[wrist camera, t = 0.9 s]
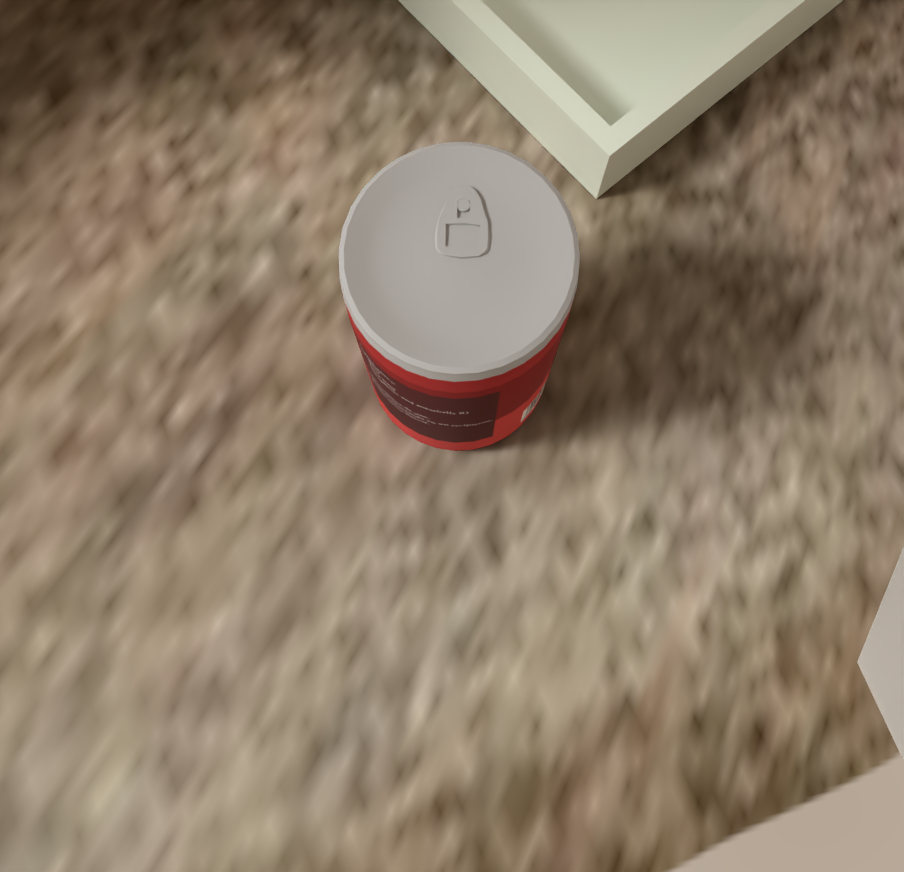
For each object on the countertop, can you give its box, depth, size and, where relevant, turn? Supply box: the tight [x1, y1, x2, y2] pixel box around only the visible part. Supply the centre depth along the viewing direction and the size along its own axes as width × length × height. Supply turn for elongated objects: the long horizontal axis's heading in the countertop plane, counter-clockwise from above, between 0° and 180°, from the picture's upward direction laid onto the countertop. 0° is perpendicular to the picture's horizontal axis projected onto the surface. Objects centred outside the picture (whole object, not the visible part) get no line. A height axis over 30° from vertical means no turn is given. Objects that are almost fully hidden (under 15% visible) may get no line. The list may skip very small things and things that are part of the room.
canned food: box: [339, 142, 580, 451], centre depth 32 cm, size 8×8×11 cm
